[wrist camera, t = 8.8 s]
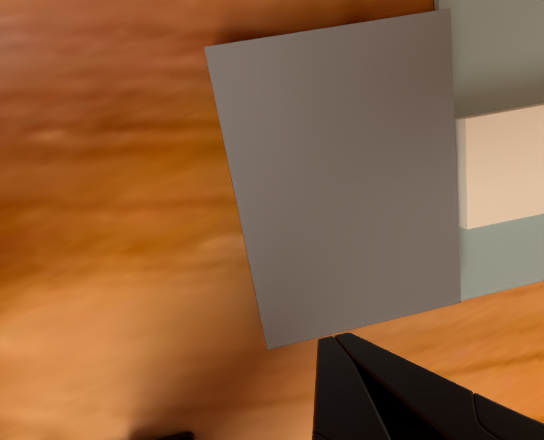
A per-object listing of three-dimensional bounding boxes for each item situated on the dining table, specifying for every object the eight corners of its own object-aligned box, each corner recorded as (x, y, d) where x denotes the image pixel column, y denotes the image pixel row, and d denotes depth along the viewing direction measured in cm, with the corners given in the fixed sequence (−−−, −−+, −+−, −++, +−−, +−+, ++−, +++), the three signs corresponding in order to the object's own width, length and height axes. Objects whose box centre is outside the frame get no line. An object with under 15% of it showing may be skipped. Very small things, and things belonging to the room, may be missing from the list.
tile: (582, 96, 20) (619, 91, 18) (575, 194, 22) (609, 199, 20) (441, 120, 19) (465, 118, 17) (444, 220, 21) (467, 229, 19)
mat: (619, 258, 24) (625, 260, 24) (448, 300, 23) (452, 303, 22) (646, -33, 19) (654, -37, 19) (434, -1, 18) (438, -3, 18)
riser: (440, 288, 22) (461, 302, 20) (263, 330, 21) (267, 350, 19) (426, 22, 18) (450, 8, 16) (206, 57, 17) (204, 47, 15)
